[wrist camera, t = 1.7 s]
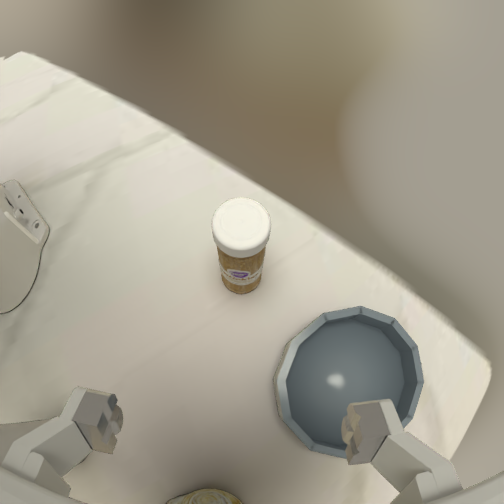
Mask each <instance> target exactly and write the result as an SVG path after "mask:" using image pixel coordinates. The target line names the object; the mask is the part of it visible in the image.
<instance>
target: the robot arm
mask: <svg viewBox="0 0 504 504" xmlns="http://www.w3.org/2000/svg"><path fill="white" fill-rule="evenodd" d="M38 226H39V227H38ZM37 227H38V228H37ZM48 234H49V227H48V225H47V224H46V223H45V221H44V220H43V218H42V217H41V215H40V214H39V213H38V211H37V210H36V208H35V207H34V205H33V204H32V202H31V201H30V199H29V198H28V196H27V195H26V193H25V192H24V190H23V189H22V187H21V186H20V184H19V183H18V182H17V181H16V180H10V181H8V182H5V183H4V184H2V185H1V184H0V313H5V312H8V311H10V310H12V309H14V308H15V307H16V306H18V305H19V304H20V303H21V302H22V300H23V299H24V298H25V297H26V295H27V294H28V292H29V290H30V289H31V287H32V285H33V282H34V280H35V277H36V274H37V271H38V266H39V260H40V254H41V250H42V247H43V245H44V243H45V241H46V239H47V237H48ZM116 403H117V398H116V396H115V394H110V393H106V392H101V391H96V390H92V389H88V388H83V387H79V386H77V387H76V388H75V389H74V390H73V392H72V394H71V396H70V398H69V400H68V401H67V403H66V405H65V407H64V409H63V411H62V413H61V415H60V417H57V416H56V417H54V418H53V419H51V420H49V421H48V422H46V423H44V424H43V425H41V426H39V427H38V428H36V429H34V430H33V431H31V432H29V433H28V434H26V435H24V436H23V437H21V438H19V439H17V440H16V441H14V442H13V443H12V445H11V447H10V449H9V451H8V453H7V455H6V457H5V459H4V461H3V463H2V465H1V466H0V504H87V503H84V502H81V501H78V500H75V499H73V498H70V497H68V496H69V493H70V490H71V488H70V486H69V485H68V484H67V483H66V482H65V480H64V479H63V478H62V477H63V476H64V475H65V474H66V473H67V472H68V471H70V470H71V469H72V468H73V467H74V466H76V465H77V464H78V463H79V462H80V461H81V460H83V459H84V458H85V457H86V456H87V455H88V454H89V453H91V452H92V450H95V451H100V452H104V453H109V454H113V451H114V448H115V446H116V443H117V439H116V436H115V435H116V434H117V433H119V432H120V431H121V428H122V424H123V414H122V410H121V408H120V407H119V406H118V405H116ZM347 413H348V414H347V415H346V416H345V417H344V418H343V421H342V426H341V433H342V439H343V441H344V442H345V443H346V444H347V445H348V446H347V448H346V450H345V452H346V457H347V461H348V465H354V464H362V463H369V462H371V464H372V465H373V467H374V468H375V469H376V470H377V471H378V472H379V473H380V474H381V475H382V476H383V477H384V478H385V479H386V480H387V481H388V482H390V483H391V484H392V485H393V486H394V487H395V488H396V489H397V490H398V491H399V492H400V494H399V495H398V496H397V497H396V498H395V499H394V500H393V501H392V502H391V503H390V504H504V471H502V472H500V473H498V474H496V475H495V476H492V477H490V478H488V479H486V480H484V481H482V482H480V483H477V484H475V485H473V486H471V487H468V488H466V489H463V488H462V486H461V483H460V481H459V478H458V476H457V473H456V471H455V469H454V466H453V464H452V462H450V461H449V460H447V459H446V458H444V457H443V456H442V455H440V454H439V453H437V452H436V451H434V450H433V449H432V448H430V447H429V446H427V445H426V444H425V443H423V442H422V441H420V440H419V439H418V438H416V437H415V436H413V435H412V434H411V433H409V432H404V429H403V427H402V424H401V422H400V419H399V417H398V414H397V412H396V409H395V407H394V405H393V402H392V400H391V399H383V400H373V401H365V402H357V403H350V404H349V405H348V407H347Z"/></svg>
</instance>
